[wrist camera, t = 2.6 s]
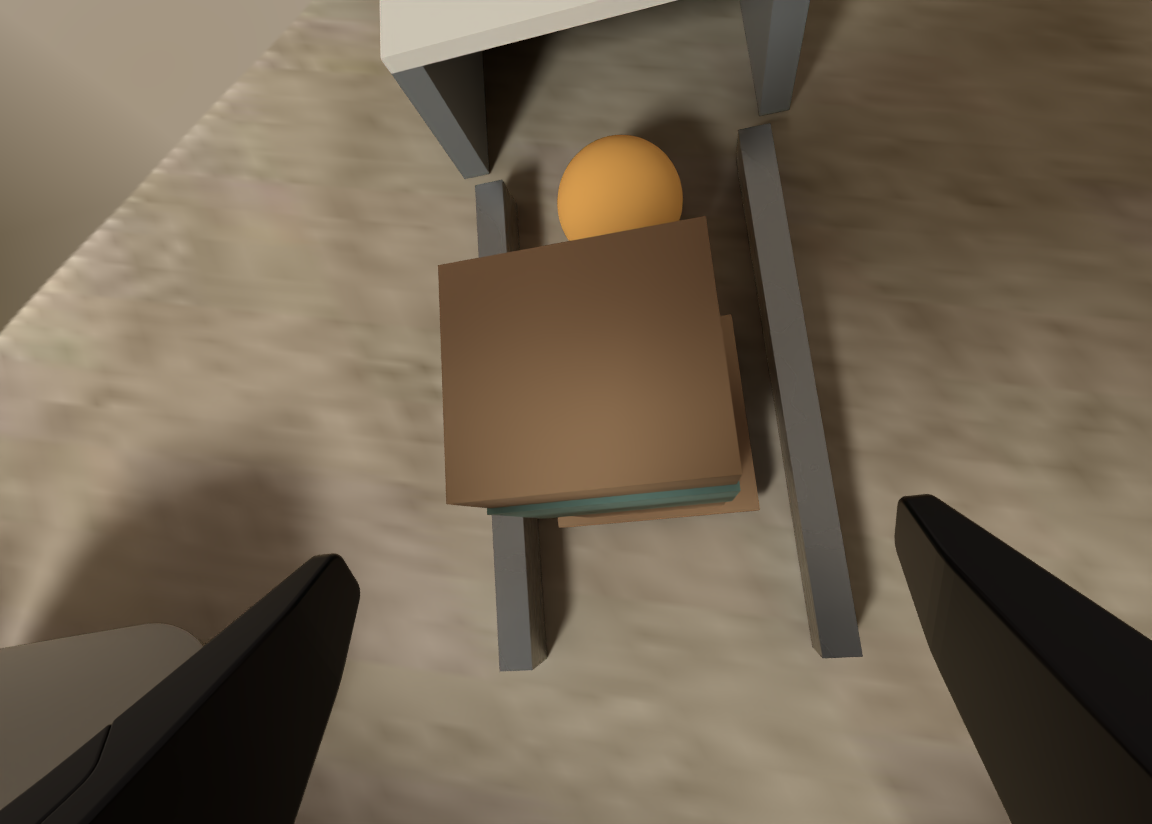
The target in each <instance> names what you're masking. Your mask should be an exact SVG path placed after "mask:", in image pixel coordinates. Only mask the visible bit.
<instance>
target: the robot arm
mask: <svg viewBox="0 0 1152 824" xmlns="http://www.w3.org/2000/svg"><path fill="white" fill-rule="evenodd" d="M895 547H896V551H897V555H898V557H899V560H900V563H901V566H902V569H903V572H904V575H905V578H906V581H907V584H908V587H909V590H910V593H911V596H912V599H913V602H914V605H915V608H916V611H917V614H918V617H919V619H920V622H921V625H922V628H923V631H924V634H925V637H926V640H927V643H928V645H929V648H930V651H931V653H932V655H933V658H934V660H935V662H936V664H937V667H938V669H939V671H940V673H941V675H942V677H943V679H944V682H945V684H946V686H947V688H948V690H949V692H950V694H951V696H952V698H953V700H954V703H955V705H956V707H957V709H958V711H959V713H960V715H961V717H962V719H963V722H964V724H965V726H966V728H967V730H968V732H969V734H970V736H971V738H972V741H973V743H974V745H975V747H976V749H977V751H978V753H979V755H980V757H981V759H982V762H983V764H984V766H985V768H986V770H987V772H988V774H989V776H990V778H991V781H992V783H993V785H994V787H995V789H996V791H997V793H998V795H999V797H1000V800H1001V802H1002V804H1003V806H1004V808H1005V810H1006V812H1007V814H1008V816H1009V819H1010V821H1011V823H1012V824H1152V640H1150V639H1149V638H1147V637H1146V636H1144V635H1143V634H1141V633H1140V632H1138V631H1137V630H1135V629H1134V628H1132V627H1131V626H1129V625H1128V624H1126V623H1125V622H1123V621H1122V620H1120V619H1119V618H1117V617H1116V616H1114V615H1113V614H1111V613H1110V612H1108V611H1107V610H1105V609H1104V608H1102V607H1101V606H1099V605H1098V604H1096V603H1095V602H1093V601H1092V600H1090V599H1089V598H1087V597H1086V596H1084V595H1083V594H1081V593H1080V592H1078V591H1077V590H1075V589H1074V588H1072V587H1071V586H1069V585H1068V584H1066V583H1065V582H1063V581H1062V580H1060V579H1059V578H1057V577H1056V576H1054V575H1053V574H1051V573H1050V572H1048V571H1047V570H1045V569H1044V568H1042V567H1041V566H1039V565H1038V564H1036V563H1035V562H1033V561H1032V560H1030V559H1029V558H1027V557H1026V556H1024V555H1023V554H1021V553H1020V552H1018V551H1017V550H1015V549H1014V548H1012V547H1010V546H1009V545H1007V544H1006V543H1004V542H1003V541H1001V540H1000V539H998V538H997V537H995V536H994V535H992V534H991V533H989V532H988V531H986V530H985V529H983V528H982V527H980V526H979V525H977V524H976V523H974V522H973V521H971V520H970V519H968V518H967V517H965V516H964V515H962V514H961V513H959V512H958V511H956V510H955V509H953V508H952V507H950V506H949V505H947V504H946V503H944V502H943V501H941V500H940V499H938V498H937V497H935V496H933V495H930V494H923V495H913V496H904V497H902V498H900V500H899V502H898V506H897V516H896V526H895ZM359 600H360V588H359V584H358V582H357V581H356V579H355V577H354V576H353V574H352V572H351V571H350V569H349V568H348V566H347V564H346V563H345V561H344V560H343V558H342V557H341V556H340V555H338V554H324V555H317V556H314V557H312V558H311V559H309V560H308V561H307V562H306V563H305V564H303V565H302V566H301V567H300V568H298V569H297V570H296V571H295V572H294V573H292V574H291V575H290V576H289V577H287V578H286V579H285V580H284V581H283V582H281V583H280V584H279V585H278V586H277V587H275V588H274V589H273V590H272V591H270V592H269V593H268V594H267V595H266V596H264V597H263V598H262V599H261V600H259V601H258V602H257V603H256V604H255V605H253V606H252V607H251V608H250V609H248V610H247V611H246V612H245V613H244V614H242V615H241V616H240V617H239V618H238V619H236V620H235V621H234V622H233V623H231V624H230V625H229V626H228V627H227V628H225V629H224V630H223V631H222V632H220V633H219V634H218V635H217V636H216V637H214V638H213V639H212V640H211V641H209V642H208V643H207V644H206V645H205V646H203V647H202V648H201V649H200V650H199V651H197V652H196V653H195V654H194V655H192V656H191V657H190V658H189V659H188V660H186V661H185V662H184V663H183V664H181V665H180V666H179V667H178V668H177V669H175V670H174V671H173V672H172V673H171V674H169V675H168V676H167V677H166V678H164V679H163V680H162V681H161V682H160V683H158V684H157V685H156V686H155V687H153V688H152V689H151V690H150V691H149V692H147V693H146V694H145V695H144V696H142V697H141V698H140V699H139V700H138V701H136V702H135V703H134V704H133V705H132V706H130V707H129V708H128V709H127V710H125V711H124V712H123V713H122V714H121V715H119V716H118V717H117V718H116V719H115V720H114V721H113V723H112V724H109V725H107V726H106V727H104V728H103V729H102V730H101V731H100V732H98V733H97V734H96V735H95V736H94V737H92V738H91V739H90V740H89V741H88V742H86V743H85V744H84V745H83V746H81V747H80V748H79V749H78V750H76V751H75V752H74V753H73V754H71V755H70V756H69V757H68V758H66V759H65V760H64V761H63V762H61V763H60V764H59V765H58V766H56V767H55V768H54V769H53V770H51V771H50V772H49V773H48V774H46V775H45V776H44V777H43V778H41V779H40V780H39V781H37V782H36V783H35V784H33V785H32V786H31V787H29V788H28V789H27V790H26V791H24V792H23V793H22V794H20V795H19V796H18V797H16V798H15V799H14V800H12V801H11V802H10V803H8V804H7V805H6V806H5V807H3V808H2V809H1V810H0V824H294V822H295V819H296V816H297V813H298V810H299V807H300V804H301V801H302V798H303V795H304V792H305V789H306V786H307V783H308V780H309V777H310V774H311V771H312V768H313V765H314V762H315V759H316V756H317V753H318V750H319V747H320V744H321V741H322V738H323V735H324V732H325V729H326V726H327V723H328V720H329V717H330V714H331V711H332V707H333V704H334V701H335V698H336V695H337V692H338V689H339V685H340V682H341V678H342V674H343V670H344V666H345V662H346V657H347V653H348V649H349V644H350V640H351V635H352V631H353V626H354V622H355V618H356V613H357V609H358V604H359Z"/></svg>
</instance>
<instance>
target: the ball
mask: <svg viewBox="0 0 1152 824" xmlns="http://www.w3.org/2000/svg"><path fill="white" fill-rule="evenodd" d="M682 204H683V194H682V187H681V182H680V178H679V176H678V173H677V171H676V169H675V167H674V165H673V163H672V162H671V160H670V159H669V158H668V157H667V155H666V154H665V153H664V152H663V151H662V150H661V149H660V148H658V147H657V146H655V145H654V144H652V143H651V142H649V141H647V140H645V139H642V138H639V137H636V136H631V135H612V136H607V137H604V138H601V139H598V140H596V141H594V142H592V143H590V144H589V145H587V146H586V147H584V148H583V149H582V150H581V151H580V152H579V153H578V154H577V155H576V156H575V157H574V158H573V159H572V160H571V162H570V163H569V165H568V166H567V168H566V170H565V172H564V174H563V177H562V179H561V182H560V186H559V191H558V199H557V205H558V215H559V220H560V223H561V226H562V229H563V231H564V233H565V235H566V237H567V238H568V240H569V241H572V240H578V239H583V238H588V237H594V236H599V235H605V234H610V233H615V232H621V231H626V230H632V229H637V228H642V227H648V226H653V225H659V224H664V223H669V222H675V221H679V220H680V217H681V213H682Z"/></svg>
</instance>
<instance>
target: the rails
mask: <svg viewBox="0 0 1152 824" xmlns="http://www.w3.org/2000/svg"><path fill="white" fill-rule="evenodd" d="M736 163H737V169H738V176H739V182H740V188H741V195H742V201H743V208H744V214H745V220H746V227H747V233H748V239H749V246H750V252H751V259H752V265H753V271H754V278H755V284H756V291H757V297H758V303H759V310H760V316H761V322H762V329H763V335H764V342H765V348H766V354H767V361H768V367H769V373H770V380H771V386H772V393H773V399H774V405H775V412H776V418H777V424H778V431H779V437H780V444H781V450H782V456H783V463H784V469H785V475H786V482H787V488H788V495H789V501H790V507H791V514H792V520H793V526H794V533H795V539H796V546H797V552H798V558H799V565H800V571H801V577H802V584H803V590H804V597H805V603H806V609H807V616H808V622H809V628H810V635H811V641H812V647H813V648H814V649H815V650H816V651H817V653H818V654H819V655H820V656H821V657H822V658H842V657H863V655H862V649H861V643H860V637H859V632H858V626H857V620H856V614H855V608H854V603H853V597H852V591H851V585H850V580H849V574H848V568H847V562H846V557H845V551H844V545H843V539H842V533H841V528H840V522H839V516H838V510H837V505H836V499H835V493H834V487H833V482H832V476H831V470H830V464H829V458H828V453H827V447H826V441H825V435H824V430H823V424H822V418H821V412H820V407H819V401H818V395H817V389H816V383H815V378H814V372H813V366H812V360H811V355H810V349H809V343H808V337H807V332H806V326H805V320H804V314H803V308H802V303H801V297H800V291H799V285H798V280H797V274H796V268H795V262H794V257H793V251H792V245H791V239H790V233H789V228H788V222H787V216H786V210H785V205H784V199H783V193H782V187H781V182H780V176H779V170H778V164H777V158H776V153H775V147H774V141H773V135H772V130H771V124H770V123H769V124H764V125H759V126H755V127H750V128H745V129H740V130H738V139H737V153H736ZM475 192H476V212H477V232H478V252H479V258H480V257H486V256H491V255H497V254H502V253H507V252H513V251H518V250H520V249H519V234H518V219H517V204H516V202H515V201H514V199H513V197H512V195H511V194H510V192H509V190H508V189H507V187H506V185H505V184H504V182H503V180H498V181H494V182H489V183H484V184H479V185H475ZM492 528H493V548H494V567H495V587H496V607H497V626H498V646H499V666H500V671H520V670H533V669H534V668H536V667H537V666H538V665H539V664H541V663H542V662H543V661H544V660H546V659H547V653H546V638H545V623H544V608H543V593H542V578H541V563H540V548H539V533H538V518H530V517H515V516H500V515H492Z"/></svg>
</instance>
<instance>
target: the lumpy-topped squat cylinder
mask: <svg viewBox="0 0 1152 824" xmlns="http://www.w3.org/2000/svg"><path fill="white" fill-rule="evenodd" d="M202 647H203V645H202V644H201V643H200V642H199V641H198V640H197V639H196V638H195V637H194V636H193V635H191V634H190V633H189V632H187V631H185V630H183V629H181V628H179V627H176V626H173V625H169V624H163V623H149V624H143V625H137V626H131V627H125V628H119V629H113V630H107V631H101V632H95V633H89V634H83V635H77V636H71V637H65V638H59V639H53V640H48V641H42V642H36V643H30V644H24V645H18V646H12V647H6V648H1V649H0V810H1V809H2V808H3V807H5V806H6V805H7V804H8V803H10V802H11V801H12V800H14V799H15V798H16V797H18V796H19V795H20V794H22V793H23V792H24V791H26V790H27V789H28V788H29V787H31V786H32V785H33V784H35V783H36V782H37V781H39V780H40V779H41V778H43V777H44V776H45V775H46V774H48V773H49V772H50V771H51V770H53V769H54V768H55V767H56V766H58V765H59V764H60V763H61V762H63V761H64V760H65V759H66V758H68V757H69V756H70V755H71V754H73V753H74V752H75V751H76V750H78V749H79V748H80V747H81V746H83V745H84V744H85V743H86V742H88V741H89V740H90V739H91V738H92V737H94V736H95V735H96V734H97V733H98V732H100V731H101V730H102V729H103V728H104V727H106V726H107V725H109V724H112V723H113V721H114V720H115V719H116V718H117V717H118V716H119V715H121V714H122V713H123V712H124V711H125V710H127V709H128V708H129V707H130V706H132V705H133V704H134V703H135V702H136V701H138V700H139V699H140V698H141V697H142V696H144V695H145V694H146V693H147V692H149V691H150V690H151V689H152V688H153V687H155V686H156V685H157V684H158V683H160V682H161V681H162V680H163V679H164V678H166V677H167V676H168V675H169V674H171V673H172V672H173V671H174V670H175V669H177V668H178V667H179V666H180V665H181V664H183V663H184V662H185V661H186V660H188V659H189V658H190V657H191V656H192V655H194V654H195V653H196V652H197V651H199V650H200V649H201V648H202Z"/></svg>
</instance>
